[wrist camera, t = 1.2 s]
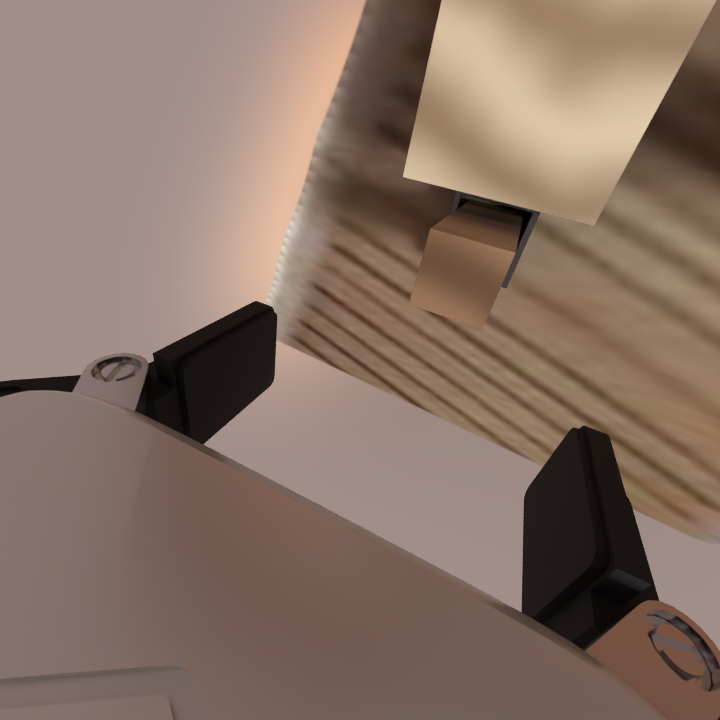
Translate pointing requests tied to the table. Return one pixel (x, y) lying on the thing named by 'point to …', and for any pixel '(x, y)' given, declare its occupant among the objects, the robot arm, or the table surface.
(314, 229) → the table surface
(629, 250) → the table surface
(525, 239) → the socket
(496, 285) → the brown wooden block
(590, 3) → the lid
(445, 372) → the table surface
